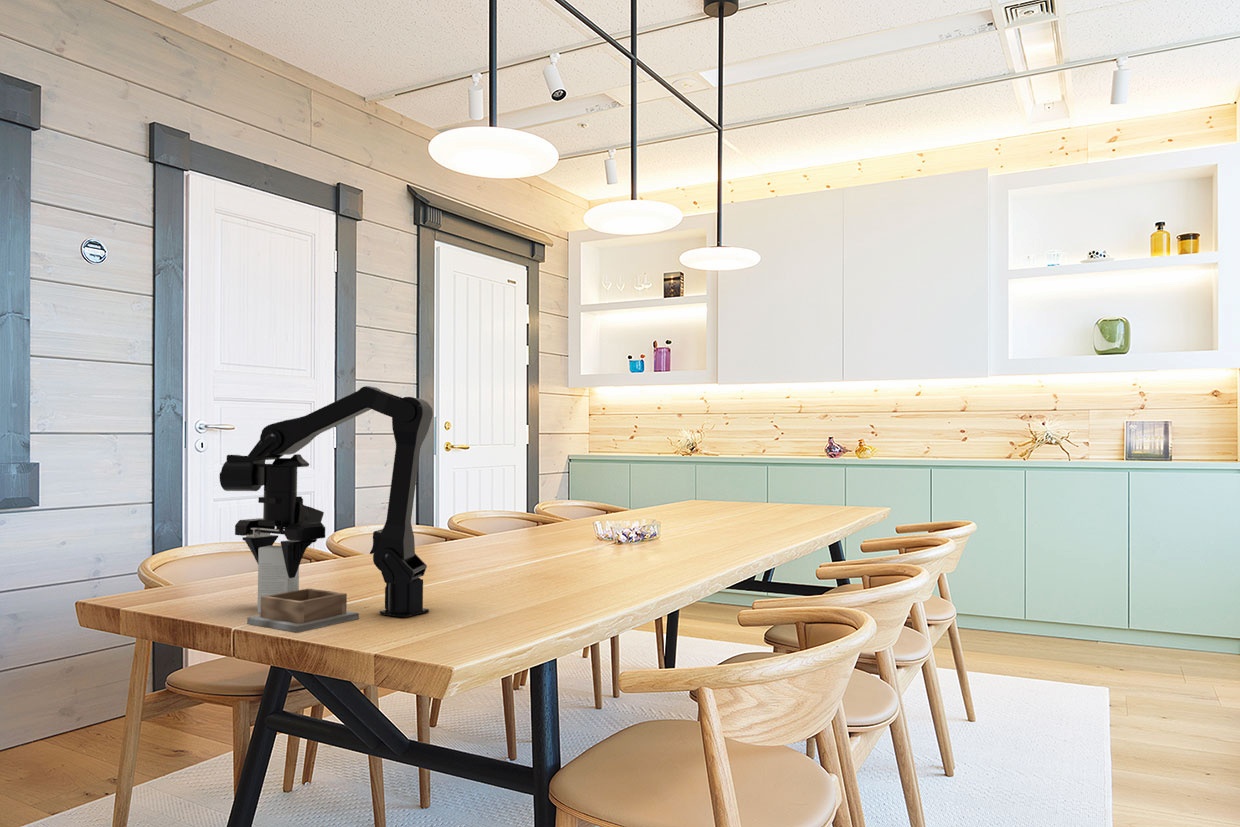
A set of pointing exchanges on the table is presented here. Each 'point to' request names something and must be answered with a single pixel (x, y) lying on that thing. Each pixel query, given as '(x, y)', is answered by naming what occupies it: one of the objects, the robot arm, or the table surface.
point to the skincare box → (273, 573)
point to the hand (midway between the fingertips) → (278, 576)
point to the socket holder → (303, 610)
